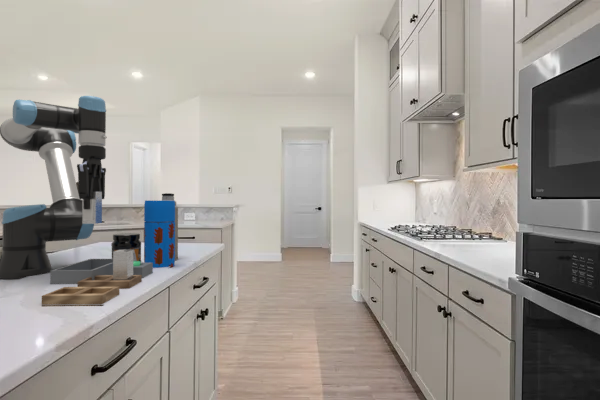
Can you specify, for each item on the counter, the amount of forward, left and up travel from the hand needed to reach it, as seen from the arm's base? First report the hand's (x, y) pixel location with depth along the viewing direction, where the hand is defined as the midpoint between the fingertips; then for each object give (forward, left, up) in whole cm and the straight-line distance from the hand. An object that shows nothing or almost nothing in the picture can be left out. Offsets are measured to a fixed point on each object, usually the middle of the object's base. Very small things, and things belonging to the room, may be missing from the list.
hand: (92, 219), depth 117 cm
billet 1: (0, 0, -1) cm, 1 cm away
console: (+12, +3, -19) cm, 22 cm away
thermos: (+14, +22, -19) cm, 32 cm away
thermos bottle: (+12, +38, -19) cm, 44 cm away
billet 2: (+14, -11, -18) cm, 26 cm away
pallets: (+11, -18, -19) cm, 28 cm away
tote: (-1, +2, -19) cm, 19 cm away
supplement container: (0, +26, -19) cm, 32 cm away
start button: (+12, +3, -17) cm, 21 cm away
